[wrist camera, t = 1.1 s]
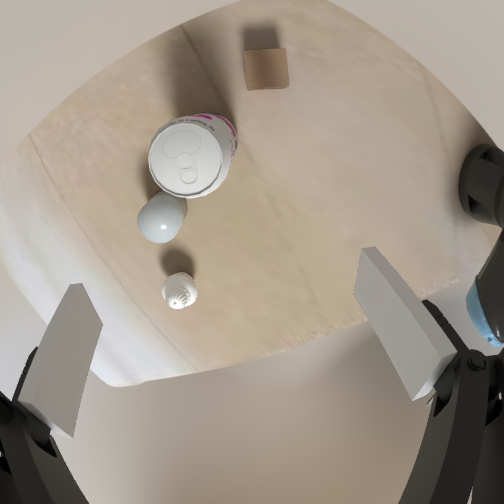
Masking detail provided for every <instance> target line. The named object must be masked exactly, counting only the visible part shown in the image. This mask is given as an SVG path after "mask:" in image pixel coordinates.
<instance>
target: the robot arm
mask: <svg viewBox="0 0 504 504" xmlns="http://www.w3.org/2000/svg"><path fill="white" fill-rule="evenodd" d="M459 196H460V201H461V204H462V207H463V209H464V210H465V212H466V213H467V214H468V215H470V216H471V217H472V218H474V219H475V220H477V221H479V222H483V223H488V224H493V225H497V226H500V227H501V228H502V232H501V234H500V236H499V238H498V240H497V242H496V244H495V246H494V247H493V249H492V251H491V253H490V255H489V257H488V259H487V260H486V262H485V264H484V266H483V267H482V269H481V271H480V272H479V274H478V275H477V276H476V277H475V280H474V283H473V285H472V286H471V288H470V290H469V292H468V294H467V297H466V305H467V310H468V313H469V316H470V318H471V320H472V322H473V324H474V325H475V327H476V328H477V329H478V331H479V332H480V334H481V335H482V336H483V337H484V338H485V339H487V340H488V342H489V343H490V344H492V345H494V346H496V347H497V346H501V345H503V344H504V152H503V151H502V150H501V149H499V148H497V147H495V146H492V145H489V144H482V145H479V146H477V147H476V148H474V149H473V150H472V151H471V152H470V154H469V155H468V156H467V158H466V160H465V162H464V164H463V167H462V170H461V174H460V179H459ZM353 294H354V296H355V298H356V299H357V301H358V303H359V305H360V306H361V308H362V310H363V311H364V313H365V315H366V316H367V318H368V320H369V322H370V323H371V325H372V327H373V328H374V330H375V332H376V334H377V336H378V337H379V339H380V341H381V343H382V345H383V346H384V348H385V350H386V352H387V354H388V356H389V357H390V359H391V361H392V363H393V365H394V367H395V369H396V370H397V372H398V374H399V376H400V378H401V380H402V382H403V384H404V386H405V388H406V390H407V392H408V394H409V396H410V398H411V400H412V401H413V400H416V399H418V398H420V397H422V396H425V395H427V394H428V393H429V391H430V390H431V389H432V387H434V388H435V390H436V393H435V394H434V395H433V396H432V397H431V399H430V400H429V401H428V403H427V405H426V406H429V405H430V404H431V403H432V406H431V410H430V414H429V418H428V422H427V426H426V430H425V433H424V437H423V440H422V443H421V446H420V450H419V453H418V456H417V459H416V461H415V464H414V467H413V470H412V472H411V475H410V477H409V480H408V483H407V485H406V487H405V490H404V492H403V495H402V497H401V499H400V501H399V503H398V504H467V502H468V499H469V496H470V493H471V490H472V486H473V490H472V501H471V504H504V348H503V349H502V350H501V352H500V353H499V354H498V355H492V356H485V355H484V354H483V353H482V352H480V351H478V350H473V349H471V350H469V349H468V348H467V346H466V345H465V344H464V342H463V341H462V339H461V338H460V337H459V335H458V334H457V333H456V331H455V330H454V329H453V327H452V326H451V324H449V323H448V321H447V319H446V318H445V317H443V314H442V313H441V312H440V310H439V309H438V308H437V306H435V305H434V304H432V303H431V302H430V301H428V300H427V299H426V300H423V301H420V300H419V298H418V297H417V296H416V294H415V293H414V292H413V291H412V289H411V288H410V287H409V286H408V284H407V283H406V282H405V281H404V280H403V278H402V277H401V276H400V275H399V274H398V272H397V271H396V270H395V269H394V268H393V266H392V265H391V264H390V263H389V262H388V261H387V259H386V258H385V257H384V256H383V255H382V254H381V253H380V251H379V250H378V249H377V248H376V247H369V248H362V249H361V254H360V260H359V266H358V272H357V278H356V283H355V288H354V293H353ZM102 326H103V324H102V322H101V320H100V318H99V316H98V314H97V312H96V310H95V308H94V306H93V304H92V302H91V300H90V298H89V296H88V294H87V292H86V290H85V288H84V286H83V284H82V283H79V284H70V286H69V287H68V289H67V291H66V293H65V295H64V296H63V298H62V300H61V302H60V304H59V306H58V308H57V310H56V311H55V313H54V315H53V317H52V319H51V321H50V323H49V325H48V327H47V330H46V332H45V334H44V336H43V338H42V340H41V343H40V345H39V347H36V348H35V349H34V350H33V351H32V352H31V354H30V355H29V357H28V360H27V362H26V364H25V365H26V366H25V367H24V369H23V372H22V373H23V374H21V377H20V379H19V382H18V384H17V387H16V390H15V393H14V396H13V398H12V401H10V400H9V399H8V398H7V397H6V396H5V395H4V394H3V393H2V392H1V391H0V452H1V457H0V504H89V503H88V501H87V500H86V498H85V496H84V495H83V493H82V492H81V490H80V488H79V487H78V485H77V483H76V481H75V480H74V478H73V476H72V474H71V472H70V471H69V469H68V467H67V465H66V463H65V461H64V459H63V457H62V455H61V453H60V451H59V449H58V447H57V445H56V442H55V440H54V438H53V437H52V436H51V435H50V431H51V430H53V431H54V432H55V433H57V434H58V435H60V436H64V437H69V438H73V435H74V430H75V425H76V420H77V415H78V411H79V406H80V402H81V398H82V394H83V390H84V386H85V382H86V379H87V375H88V371H89V368H90V364H91V361H92V358H93V354H94V351H95V348H96V345H97V342H98V338H99V335H100V332H101V329H102ZM500 392H501V397H502V399H501V400H500V398H499V393H500Z"/></svg>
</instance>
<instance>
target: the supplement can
mask: <svg viewBox="0 0 504 504" xmlns="http://www.w3.org/2000/svg"><path fill="white" fill-rule="evenodd" d="M236 148H237V133H236V131H235V128H234V126H233V125H232V124H231V123H230V122H229V121H228V119H227V118H225V117H223V116H221V115H219V114H215V113H201V114H195V115H188V116H184V117H180V118H176V119H173V120H170V121H169V122H168V123H166V124H165V125H163V126H162V127H161V128H159V130H158V131H157V133H156V134H155V136H154V137H153V139H152V140H151V143H150V147H149V151H148V162H149V169H150V172H151V174H152V176H153V178H154V180H155V182H156V183H157V184H158V185H159V186H160V187H161V188H162V189H163V190H164V191H166V192H168V193H170V194H172V195H174V196H177V197H183V198H196V197H201V196H205V195H207V194H208V193H210V192H212V191H213V190H215V189H217V188H218V187H219V185H220V184H221V183H222V182H223V180H224V179H225V178H226V176H227V173H228V170H229V168H230V165H231V162H232V159H233V157H234V154H235V151H236Z"/></svg>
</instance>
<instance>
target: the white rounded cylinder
mask: <svg viewBox="0 0 504 504" xmlns="http://www.w3.org/2000/svg"><path fill="white" fill-rule="evenodd" d="M186 215H187V203H186V201H185V199H184V198H183V197H177V196H174V195H172V194H170V193H168V192H166V191H164V190H161V191H159V192H158V193H156V194H155V195H154V196H153V197H152V198H151V199H150V200H149V202H148V203H147V204H146V205H145V206H144V207H143V208H142V209H141V210H140V212H139V214H138V218H137V223H138V227H139V230H140V232H141V233H142V234H143V236H145V237H146V238H147V239H148V240H150V241H152V242H156V243H165V242H168V241H170V240H171V239H173V238H174V236H175V235H176V233H177V232H178V230H179V228H180V226H181V224H182V222H183V220H184V219H185V217H186Z"/></svg>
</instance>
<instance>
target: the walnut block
mask: <svg viewBox="0 0 504 504" xmlns="http://www.w3.org/2000/svg"><path fill="white" fill-rule="evenodd" d="M243 53H244V62H245V72H246V81H247V89H248V91H250V90H263V89H280V88H286V87H288V86H289V78H288V68H287V58H286V49H285V48H279V49H259V50H247V51H243Z"/></svg>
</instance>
